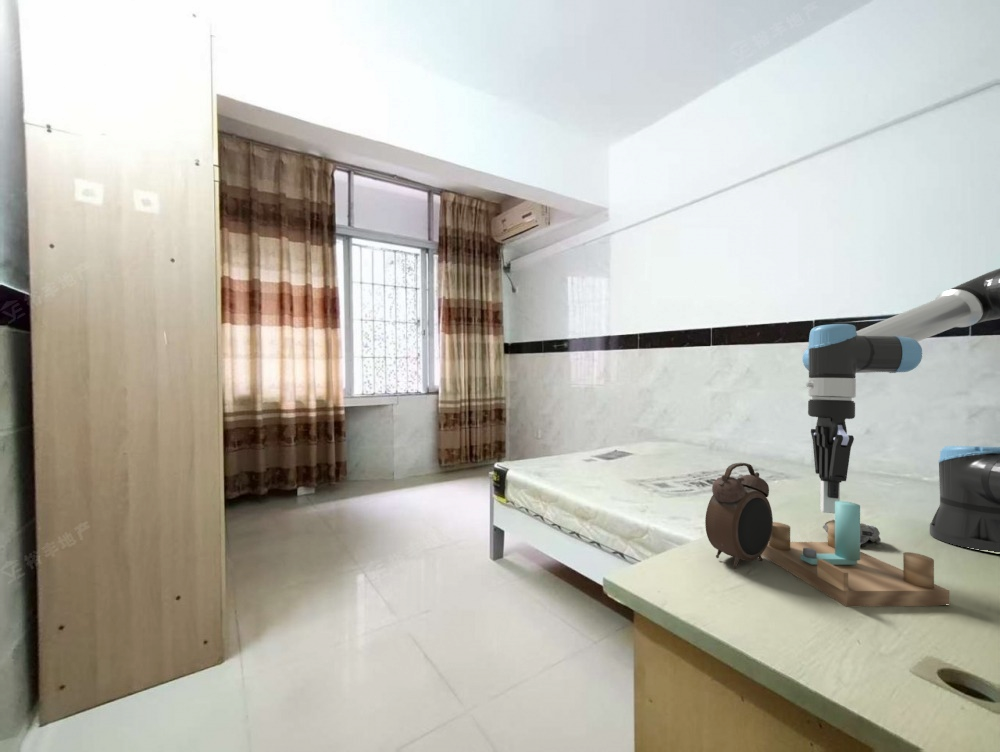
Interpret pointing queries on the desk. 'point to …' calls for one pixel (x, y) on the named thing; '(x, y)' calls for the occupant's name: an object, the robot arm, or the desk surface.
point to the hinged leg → (841, 537)
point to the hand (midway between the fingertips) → (829, 512)
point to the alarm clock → (739, 515)
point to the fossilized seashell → (863, 533)
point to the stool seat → (858, 574)
